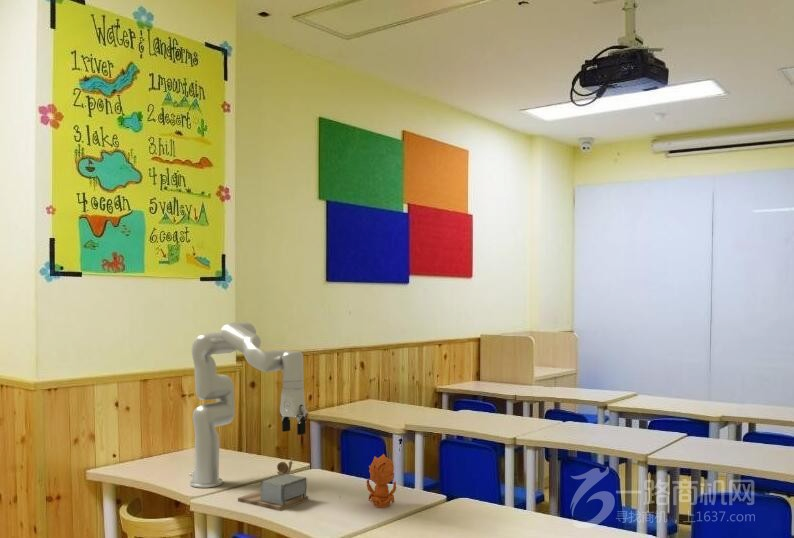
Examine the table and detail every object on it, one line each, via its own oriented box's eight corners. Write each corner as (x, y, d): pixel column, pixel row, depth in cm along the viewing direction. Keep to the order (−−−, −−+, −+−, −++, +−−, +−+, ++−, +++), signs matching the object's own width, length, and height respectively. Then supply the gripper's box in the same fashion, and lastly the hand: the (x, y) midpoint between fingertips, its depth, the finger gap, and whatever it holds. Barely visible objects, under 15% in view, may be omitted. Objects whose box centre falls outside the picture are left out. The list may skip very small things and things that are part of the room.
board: (237, 501, 268) (237, 494, 268) (267, 491, 282) (267, 484, 282) (279, 510, 258) (279, 503, 258) (308, 499, 271) (308, 493, 271)
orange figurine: (401, 502, 269) (401, 453, 269) (391, 510, 259) (391, 459, 259) (372, 499, 272) (373, 450, 273) (361, 507, 262) (362, 456, 263)
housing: (260, 500, 264) (260, 481, 265) (284, 492, 275) (284, 473, 275) (282, 505, 259) (282, 485, 259) (306, 496, 270) (306, 477, 270)
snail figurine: (289, 491, 282) (290, 459, 282) (273, 490, 283) (274, 459, 284) (294, 487, 287) (294, 456, 288) (278, 486, 289) (279, 455, 289)
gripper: (271, 384, 271) (272, 431, 270) (298, 387, 258) (298, 437, 257) (288, 382, 276) (289, 428, 275) (315, 386, 263) (316, 434, 262)
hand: (293, 432), depth 266 cm, fingers open, 9 cm apart
